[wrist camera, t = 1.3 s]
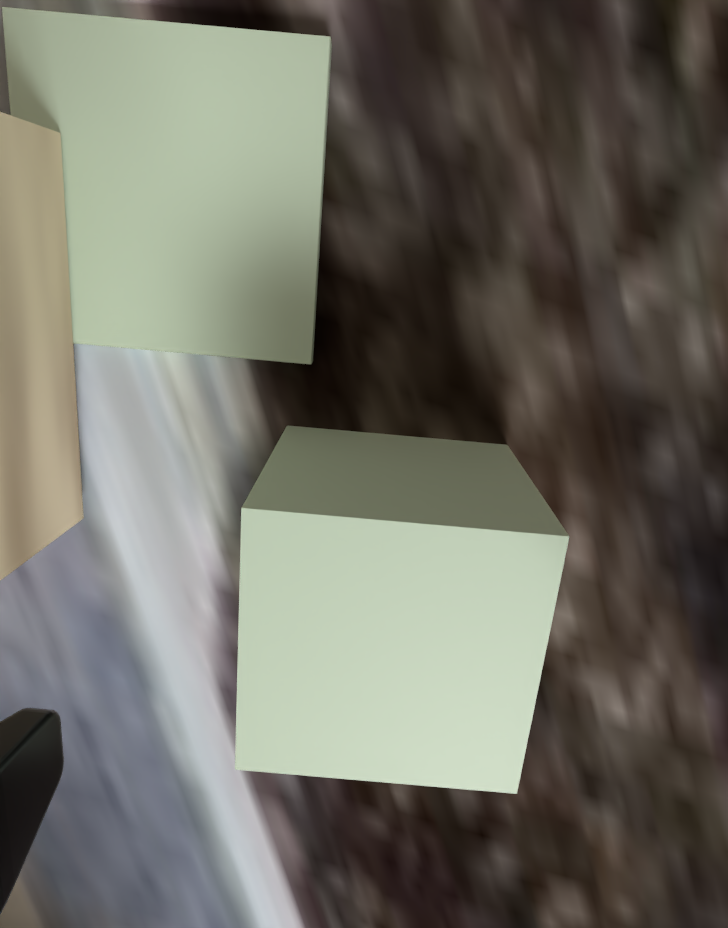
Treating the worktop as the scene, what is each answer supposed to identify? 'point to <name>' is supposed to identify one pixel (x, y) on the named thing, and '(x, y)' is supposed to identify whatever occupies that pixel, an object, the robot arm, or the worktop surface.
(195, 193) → the sage swatch
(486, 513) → the sage cube
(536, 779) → the worktop surface
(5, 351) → the beech block
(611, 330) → the worktop surface
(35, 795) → the robot arm
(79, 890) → the worktop surface
